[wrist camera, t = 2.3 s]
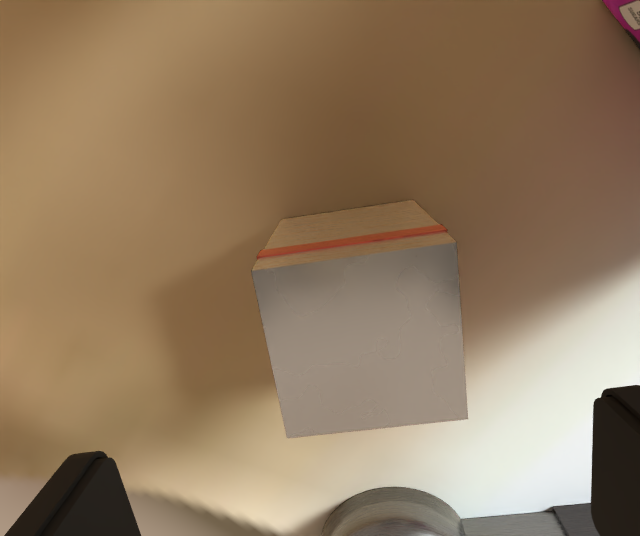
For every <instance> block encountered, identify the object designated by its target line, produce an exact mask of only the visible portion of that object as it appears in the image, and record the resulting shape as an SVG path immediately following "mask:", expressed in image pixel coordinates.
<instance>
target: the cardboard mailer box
mask: <svg viewBox="0 0 640 536" xmlns="http://www.w3.org/2000/svg"><path fill="white" fill-rule="evenodd" d="M251 273H252V277H253V282H254V287H255V291H256V296H257V301H258V305H259V310H260V314H261V319H262V324H263V328H264V333H265V338H266V342H267V347H268V352H269V356H270V361H271V366H272V370H273V375H274V380H275V384H276V389H277V393H278V398H279V403H280V407H281V412H282V417H283V421H284V426H285V431H286V435H287V438H295V437H304V436H314V435H323V434H332V433H342V432H351V431H360V430H370V429H379V428H388V427H398V426H407V425H417V424H426V423H435V422H445V421H454V420H463V419H468V411H467V395H466V380H465V365H464V349H463V334H462V319H461V303H460V288H459V272H458V257H457V242H456V241H455V240H454V239H453V238H452V237H451V236H450V235H449V234H448V233H447V229H446V228H445V227H444V226H443V225H442V224H441V225H439V224H437V223H436V222H435V221H434V220H433V219H432V218H431V217H430V216H429V215H428V214H427V213H426V212H425V211H424V210H423V209H422V208H421V207H420V206H419V205H418V204H417V203H416V202H415V201H414V200H408V201H401V202H394V203H387V204H381V205H374V206H367V207H360V208H354V209H347V210H340V211H334V212H327V213H320V214H313V215H307V216H300V217H293V218H287V219H281V221H280V223H279V224H278V226H277V228H276V229H275V231H274V233H273V235H272V236H271V238H270V240H269V241H268V243H267V245H266V246H265V248H264V250H261V251H260V252H259V254H258V255H257V262H256V263H255V265H254V267H253V269H252V270H251Z"/></svg>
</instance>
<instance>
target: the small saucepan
mask: <svg viewBox="0 0 640 536" xmlns="http://www.w3.org/2000/svg"><path fill="white" fill-rule="evenodd" d="M322 536H600V535H599V533H598V532H597V530H596V528H595V525H594V523H593V520H592V515H591V504H579V505H568V506H557V507H553V511H551V512H540V513H528V514H517V515H506V516H494V517H483V518H472V519H460V517H459V516H458V514H457V513H456V512H455V511H454V510H453V509H452V508H451V507H450V506H449V505H448V504H446V503H445V502H444V501H442V500H441V499H439V498H437V497H435V496H433V495H431V494H429V493H426V492H423V491H420V490H416V489H410V488H402V487H386V488H379V489H374V490H370V491H366V492H363V493H361V494H358V495H356V496H354V497H352V498H350V499H348V500H347V501H345V502H344V503H342V504H341V505H340V506H339V507H338V508H337V509H336V510H335V511H334V512H333V513H332V514H331V515H330V517H329V518H328V520H327V522H326V523H325V526H324V528H323V531H322Z"/></svg>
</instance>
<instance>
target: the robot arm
mask: <svg viewBox="0 0 640 536" xmlns="http://www.w3.org/2000/svg"><path fill="white" fill-rule="evenodd" d="M591 515H592V520H593V523H594V525H595V528H596V530H597V532H598V533H599V535H600V536H640V386H639V385H633V386H625V387H617V388H609V389H605V390H604V391H603V393H602V396H601V398H597V399H595V401H594V408H593V447H592V487H591ZM5 536H141V534H140V531H139V528H138V525H137V523H136V520H135V517H134V514H133V511H132V508H131V505H130V503H129V500H128V497H127V494H126V491H125V488H124V485H123V482H122V480H121V477H120V474H119V471H118V468H117V465H116V463H115V461H114V460H113V459H112V458H108V457H107V455H106V454H105V453H104V452H102V451H96V452H87V453H79V454H73V455H71V456H69V457H68V458H67V459H66V460H65V461H64V462H63V464H62V465H61V466H60V467H59V468H58V470H57V471H56V472H55V473H54V475H53V476H52V477H51V478H50V480H49V481H48V482H47V483H46V485H45V486H44V487H43V488H42V490H41V491H40V492H39V493H38V495H37V496H36V497H35V498H34V500H33V501H32V502H31V503H30V504H29V506H28V507H27V508H26V509H25V511H24V512H23V513H22V514H21V516H20V517H19V518H18V519H17V521H16V522H15V523H14V524H13V526H12V527H11V528H10V529H9V531H8V532H7V533H6V534H5Z"/></svg>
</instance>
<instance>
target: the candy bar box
mask: <svg viewBox="0 0 640 536" xmlns="http://www.w3.org/2000/svg"><path fill="white" fill-rule="evenodd" d="M602 1H603V2H604V4H605V5H606V6H607V7H608V9H609V10H610V11H611V13H612V14H613V15H614V16H615V18H616V19H617V20H618V21H619V23H620V24H621V25H622V26H623V28H624V29H625V30H626V32H627V33H628V34H629V35H630V37H631V38H632V39H633V41H634V42H635V43H636V45H637V46H638V47H639V49H640V0H602Z"/></svg>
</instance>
